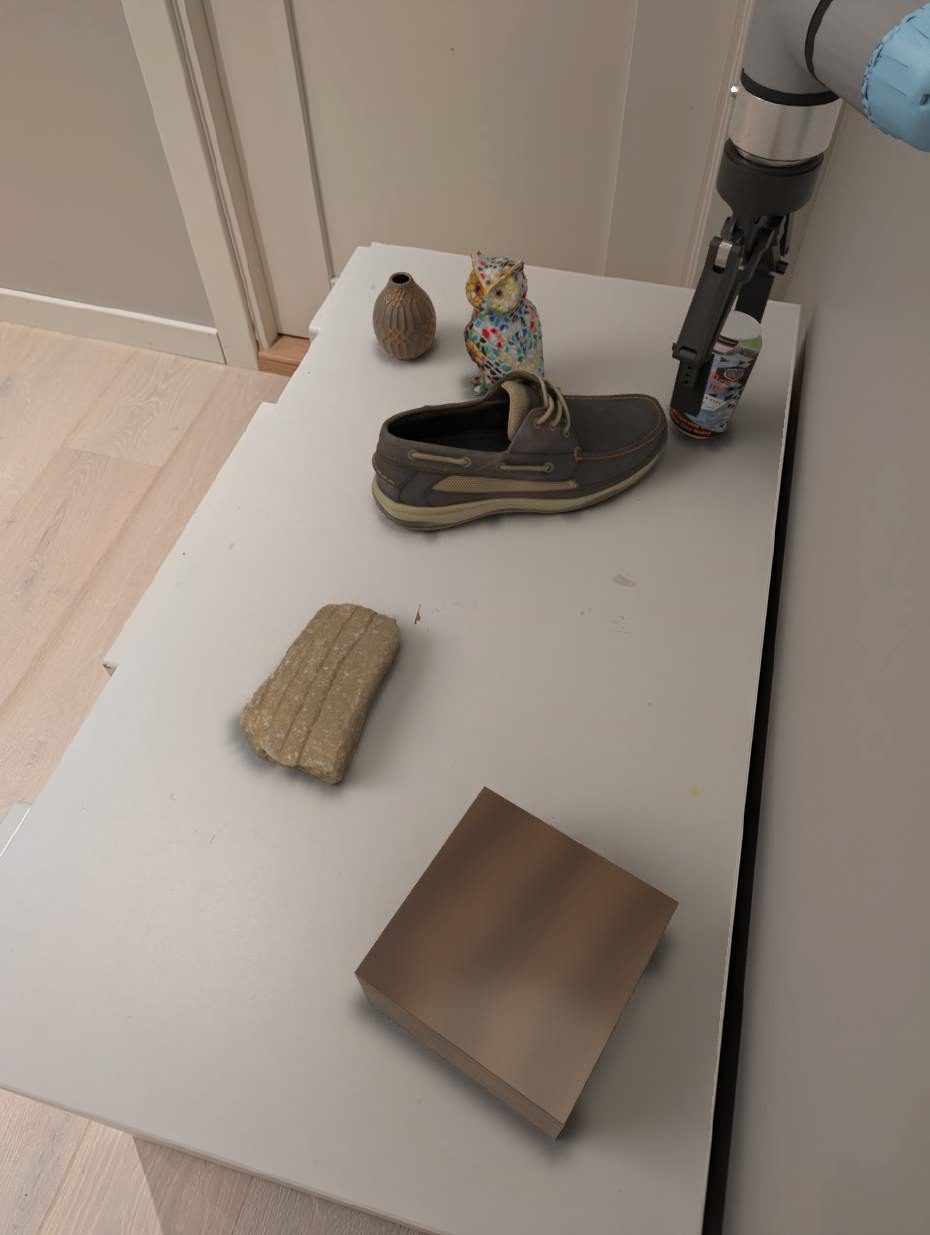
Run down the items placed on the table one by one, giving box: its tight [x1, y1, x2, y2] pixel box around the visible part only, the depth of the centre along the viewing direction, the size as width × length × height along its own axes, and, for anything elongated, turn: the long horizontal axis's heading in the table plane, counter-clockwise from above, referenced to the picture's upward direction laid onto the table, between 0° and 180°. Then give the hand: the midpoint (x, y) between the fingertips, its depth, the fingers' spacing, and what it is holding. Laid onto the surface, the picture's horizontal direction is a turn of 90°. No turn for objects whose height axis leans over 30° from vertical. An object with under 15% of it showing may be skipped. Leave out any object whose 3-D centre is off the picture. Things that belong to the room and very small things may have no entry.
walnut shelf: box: [354, 785, 680, 1141], centre depth 54 cm, size 14×14×8 cm
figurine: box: [463, 249, 545, 396], centre depth 86 cm, size 9×9×15 cm
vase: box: [372, 271, 437, 361], centre depth 93 cm, size 7×7×9 cm
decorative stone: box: [239, 602, 401, 785], centre depth 69 cm, size 10×16×4 cm, turn 162°
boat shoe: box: [371, 371, 669, 531], centre depth 80 cm, size 11×29×11 cm, turn 109°
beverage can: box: [668, 309, 763, 439], centre depth 84 cm, size 6×7×12 cm
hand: (714, 370), depth 83 cm, fingers open, 13 cm apart
